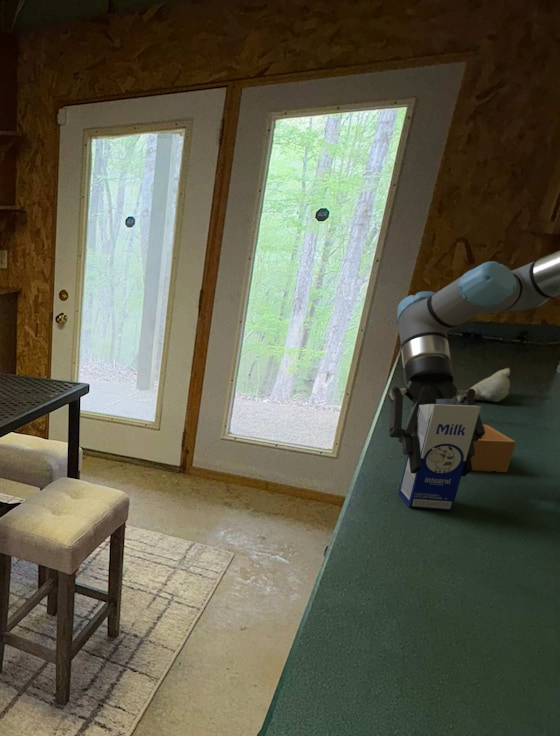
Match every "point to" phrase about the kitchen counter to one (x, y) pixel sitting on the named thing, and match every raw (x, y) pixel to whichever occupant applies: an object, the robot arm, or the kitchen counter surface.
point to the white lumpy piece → (493, 387)
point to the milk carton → (439, 454)
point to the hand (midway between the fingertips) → (440, 471)
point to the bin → (492, 451)
